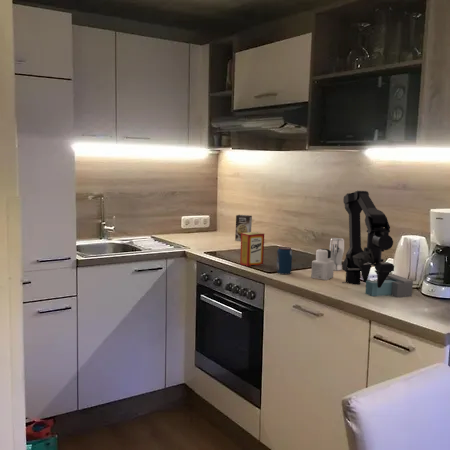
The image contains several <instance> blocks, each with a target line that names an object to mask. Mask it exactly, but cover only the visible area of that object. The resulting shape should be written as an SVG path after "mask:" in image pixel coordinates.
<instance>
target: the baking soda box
mask: <svg viewBox="0 0 450 450" xmlns="http://www.w3.org/2000/svg"><path fill="white" fill-rule="evenodd" d="M264 248H265V233H263V232H259V231H251V232H249V233H241V241H240V256H239V257H240V258H239V259H240V260H239V261H240V263H239V264H240V265H241V266H245V265H246V266H245V267H252V266H251V265H256V266H261V265H260V264H263V265H264V256H265V254H264V252H265V249H264Z"/></svg>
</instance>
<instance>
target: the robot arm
mask: <svg viewBox="0 0 450 450" xmlns="http://www.w3.org/2000/svg"><path fill="white" fill-rule="evenodd" d="M369 193H370V192H369V191H367V190H357V191H353V192H351V193H350V192H349V193H346V194H345V195H344V196H343V204H344V209H345V211H346V212H347V214H348V231H349V232H348V235H349V242H348V243H349V247H348V250H347V251H346V253H345V258H344V261H342V263H341V265H342V270H341V271H344V272H345V281H342V284H351V285H355V286H356V285H360V284H361V277H362V279H363V283H366V281H367V280H368V279H369V276H370V271H371V268H372V266H373V267H374V269H375V270H374V272H375V273H376V279H377V280H376V281H377V286H378V288H380V287H381V286H382V284H383V282H384V281H385V279H386V278H387V276H388V275H389V274H391V273H392V272H395V265H394V264H393V263H392V262H388V261H384V259H383V258H382V255H383V254H382V253H383V252H385V251H388V250H390V249H391V248H392V247H393V245H394V240H393V237H392V236H390V235H389V233H390V232H391V230H390V229H391V226H390V224H389V221H388V217H387V215H386V214H385V213H384V212H383V211H382V210H380V209H378V208H377V207H376V205H375V203H374V202H373V200H372V198H371V197H370V196H369V195H370V194H369ZM362 211H363V213H364V215H365V218H364V223H365V226H366V228H367V229H366V232H367V238H366V241H367V242H366V246H364V248H363V249H362V234H361V233H362V231H361V213H362Z"/></svg>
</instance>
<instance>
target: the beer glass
mask: <svg viewBox="0 0 450 450" xmlns="http://www.w3.org/2000/svg"><path fill="white" fill-rule="evenodd" d="M328 250H330V251H331V259H330V260H332V261H334V272H335V271H337V272H339V271H343V270H342V263H343V257H344V252H345V239H344V238H340V237H331V238H330V241H329V249H328Z"/></svg>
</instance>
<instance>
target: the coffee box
mask: <svg viewBox="0 0 450 450" xmlns="http://www.w3.org/2000/svg"><path fill="white" fill-rule="evenodd" d="M252 221H253V215H247V214H236V215H235V234H234V235H235V237H234V241H237V242H241V233H249V232H252Z"/></svg>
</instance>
